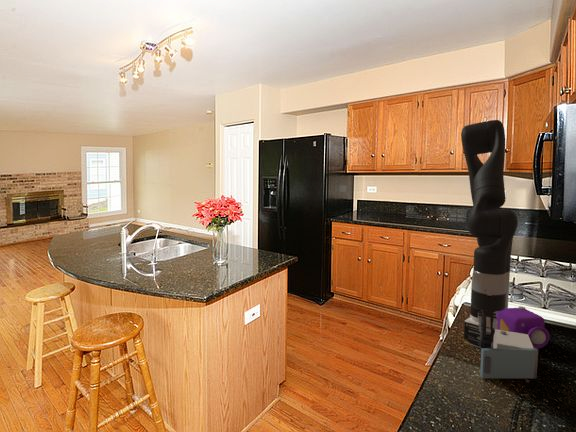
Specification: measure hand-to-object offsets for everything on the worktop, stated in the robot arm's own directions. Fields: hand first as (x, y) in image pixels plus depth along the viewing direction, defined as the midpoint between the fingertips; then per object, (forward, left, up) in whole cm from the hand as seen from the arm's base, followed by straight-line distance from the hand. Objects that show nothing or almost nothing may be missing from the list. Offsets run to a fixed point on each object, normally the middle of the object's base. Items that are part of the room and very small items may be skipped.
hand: (485, 353), depth 88 cm
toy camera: (-23, +11, -5) cm, 26 cm away
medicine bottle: (-18, 0, -5) cm, 19 cm away
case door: (+1, +5, -5) cm, 7 cm away
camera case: (-8, +7, -5) cm, 12 cm away
